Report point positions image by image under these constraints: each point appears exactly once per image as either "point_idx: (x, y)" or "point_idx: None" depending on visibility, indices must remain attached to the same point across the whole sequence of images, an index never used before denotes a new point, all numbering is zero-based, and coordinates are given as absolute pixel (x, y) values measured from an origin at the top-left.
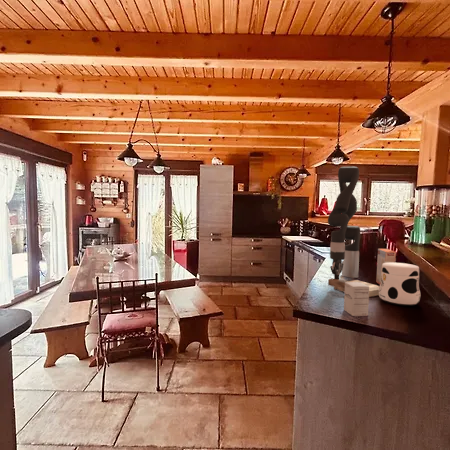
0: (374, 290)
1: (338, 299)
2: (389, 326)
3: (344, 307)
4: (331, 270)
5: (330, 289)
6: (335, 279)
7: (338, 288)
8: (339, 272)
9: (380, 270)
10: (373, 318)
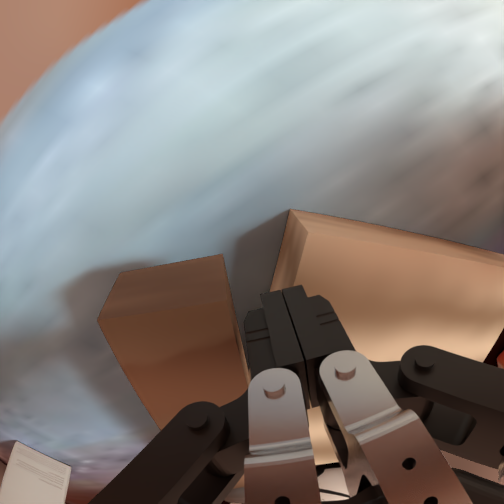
0: (333, 460)
1: (63, 395)
2: (74, 501)
3: (12, 450)
4: (105, 492)
5: (216, 213)
6: (205, 372)
7: (277, 279)
8: (344, 442)
9: None
10: (69, 487)
